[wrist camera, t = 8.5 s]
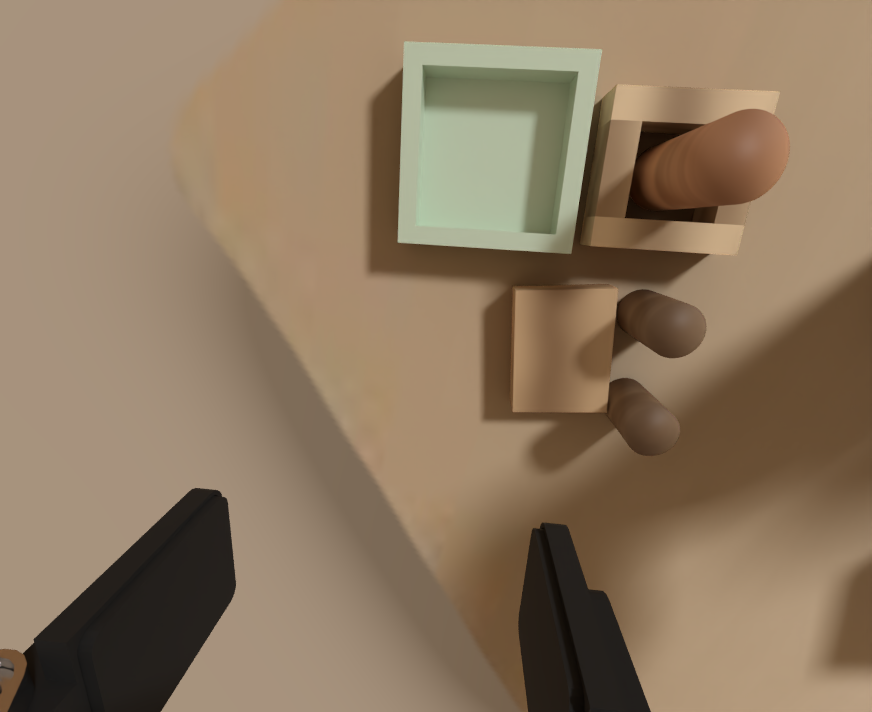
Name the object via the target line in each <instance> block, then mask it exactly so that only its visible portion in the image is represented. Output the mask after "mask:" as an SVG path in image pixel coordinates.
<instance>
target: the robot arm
mask: <svg viewBox="0 0 872 712" xmlns="http://www.w3.org/2000/svg"><path fill="white" fill-rule="evenodd" d="M235 588H236V580H235V570H234V560H233V550H232V540H231V531H230V521H229V512H228V502H227V499H226V498H225V497H222V494H221V493H220V491H218V490H209V489H200V488H195V489H192V490H191V491H189V492H188V493H187V494H186V495H185V496H184V497H183V498H182V499H181V500H180V501H179V502H178V503H177V504H176V505H175V506H173V507H172V508H171V509H170V510H169V511H168V512H167V513H166V514H165V515H164V516H163V517H162V518H161V519H160V520H159V521H158V522H157V523H156V524H155V525H154V526H152V527H151V528H150V529H149V530H148V531H147V532H146V533H145V534H144V535H143V536H142V537H141V538H140V539H139V540H138V541H137V542H136V543H135V544H133V545H132V546H131V547H130V548H129V549H128V550H127V551H126V552H125V553H124V554H123V555H122V556H121V557H120V558H119V559H118V560H117V561H116V562H115V563H113V565H111V566H110V567H109V568H108V569H107V570H106V571H105V572H104V573H103V574H102V575H101V576H100V577H99V578H98V579H97V580H96V581H95V582H93V583H92V585H90V586H89V587H88V588H87V589H86V590H85V591H84V592H83V593H82V594H81V595H80V596H79V597H78V598H77V599H76V600H74V601H73V602H72V603H71V604H70V605H69V606H68V607H67V608H66V609H65V610H64V611H63V612H62V613H61V614H60V615H59V616H58V617H57V618H56V619H55V620H54V621H52V622H51V623H50V624H49V625H48V626H47V627H46V628H45V629H44V630H43V631H42V632H41V633H40V634H39V635H38V636H37V637H36V638H34V643H33V645H31V646H30V647H29V648H28V649H27V650H26V651H25V652H24V653H23V654H22V653H20V652H19V651H17V650H11V649H0V712H161V710H162V709H163V707H164V705H165V704H166V702H167V701H168V699H169V698H170V696H171V695H172V693H173V692H174V690H175V688H176V686H177V685H178V684H179V682H180V680H181V679H182V677H183V676H184V674H185V673H186V671H187V669H188V667H189V666H190V665H191V663H192V662H193V660H194V658H195V656H196V655H197V654H198V652H199V650H200V649H201V647H202V646H203V644H204V643H205V641H206V640H207V638H208V636H209V635H210V633H211V632H212V630H213V629H214V627H215V625H216V624H217V622H218V621H219V619H220V618H221V616H222V614H223V613H224V611H225V609H226V608H227V606H228V605H229V603H230V602H231V600H232V598H233V595H234V592H235ZM519 639H520V647H521V655H522V663H523V672H524V680H525V688H526V696H527V705H528V712H651V711H650V708H649V706H648V703H647V700H646V698H645V695H644V692H643V690H642V687H641V684H640V682H639V679H638V676H637V674H636V671H635V668H634V666H633V663H632V660H631V657H630V655H629V652H628V649H627V647H626V644H625V641H624V639H623V636H622V633H621V631H620V628H619V625H618V623H617V620H616V617H615V615H614V612H613V609H612V607H611V604H610V601H609V599H608V597H607V595H606V594H605V593H604V591H598V590H589V589H588V588H587V584H586V581H585V578H584V575H583V572H582V569H581V566H580V563H579V560H578V557H577V554H576V551H575V548H574V545H573V541H572V538H571V535H570V532H569V529H568V527H567V526H566V525H561V524H551V523H542V524H541V526H540V529H536V528H533V530H532V533H531V540H530V546H529V553H528V559H527V566H526V573H525V579H524V586H523V592H522V599H521V605H520V612H519Z"/></svg>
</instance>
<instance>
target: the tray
mask: <svg viewBox="0 0 872 712" xmlns="http://www.w3.org/2000/svg"><path fill="white" fill-rule="evenodd" d="M601 53H602V49H581V48H556V47H531V46H506V45H480V44H455V43H430V42H405V41H404V60H403V91H402V122H401V154H400V185H399V216H398V243H412V244H427V245H442V246H458V247H473V248H488V249H503V250H519V251H534V252H549V253H564V254H571V252H572V246H573V239H574V232H575V226H576V219H577V213H578V206H579V199H580V193H581V186H582V179H583V173H584V166H585V159H586V153H587V146H588V140H589V133H590V126H591V120H592V113H593V106H594V100H595V93H596V87H597V80H598V73H599V67H600V60H601Z"/></svg>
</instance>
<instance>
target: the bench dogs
mask: <svg viewBox="0 0 872 712" xmlns="http://www.w3.org/2000/svg"><path fill="white" fill-rule="evenodd" d="M616 318H617V322H618V324H619V326H620V327H621V329H622V330H624V331H625V332H626V333H628V334H629V335H631V336H632V337H634V338H635V339H636V340H638V341H639V342H641V343H642V344H644V345H645V346H647V347H648V348H650V349H651V350H653V351H654V352H656V353H657V354H659V355H661V356H663V357H667V358H679V357H683V356H685V355H688V354H689V353H691V352H693V351H694V350H695V349H696V348H697V347H698V346H699V345H700V344H701V342H702V341H703V339H704V336H705V333H706V321H705V318H704V316H703V314H702V313H701V311H700V310H699V309H697V308H696V307H694V306H692V305H690V304H687V303H684V302H681V301H678V300H676V299H673V298H670V297H667V296H665V295H662V294H659V293H656V292H653V291H650V290H643V289H642V290H636V291H633V292H631V293H629V294H628V295H627V296H625V297H624V298H623V299H622V301H621V302H620V304H619V306H618V308H617V313H616ZM606 415H607V416H608V417H609V419H610V420H611V422H612V423H613V424H614V426H615V427H616V428H617V430H618V431H619V433H620V434H621V435H622V437H623V438H624V440H625V441H626V442H627V444H628V445H629V446H630V448H631V449H632V450H634V451H635V452H637V453H639V454H641V455H646V456H654V455H659V454H662V453H664V452H666V451H668V450H669V449H670V448H672V447H673V446H674V444H675V443H676V442H677V440H678V438H679V435H680V425H679V422H678V420H677V418H676V417H675V416H674V415H673V414H672V413H671V412H670V411H669V410H668V409H667V408H665V407H664V406H663V405H662V404H661V403H660V402H659V401H658V400H657V399H656V398H655V397H654V396H653V395H651V394H650V393H649V392H648V391H647V390H646V389H645V388H644V387H643V386H642V385H641V384H640V383H638V382H637V381H635V380H633V379H629V378H621V379H617V380H614V381H612V382H611V383H609V392H608V402H607V413H606Z"/></svg>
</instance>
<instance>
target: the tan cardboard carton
mask: <svg viewBox="0 0 872 712" xmlns="http://www.w3.org/2000/svg"><path fill="white" fill-rule="evenodd" d="M617 297H618V288H616V287H614V286H611V285H609V284H586V285H536V286H513V289H512V335H511V380H510V402H511V407H512V411H513V412H593V413H607V402H608V392H609V381H610V371H611V360H612V350H613V339H614V329H615V318H616V308H617Z"/></svg>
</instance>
